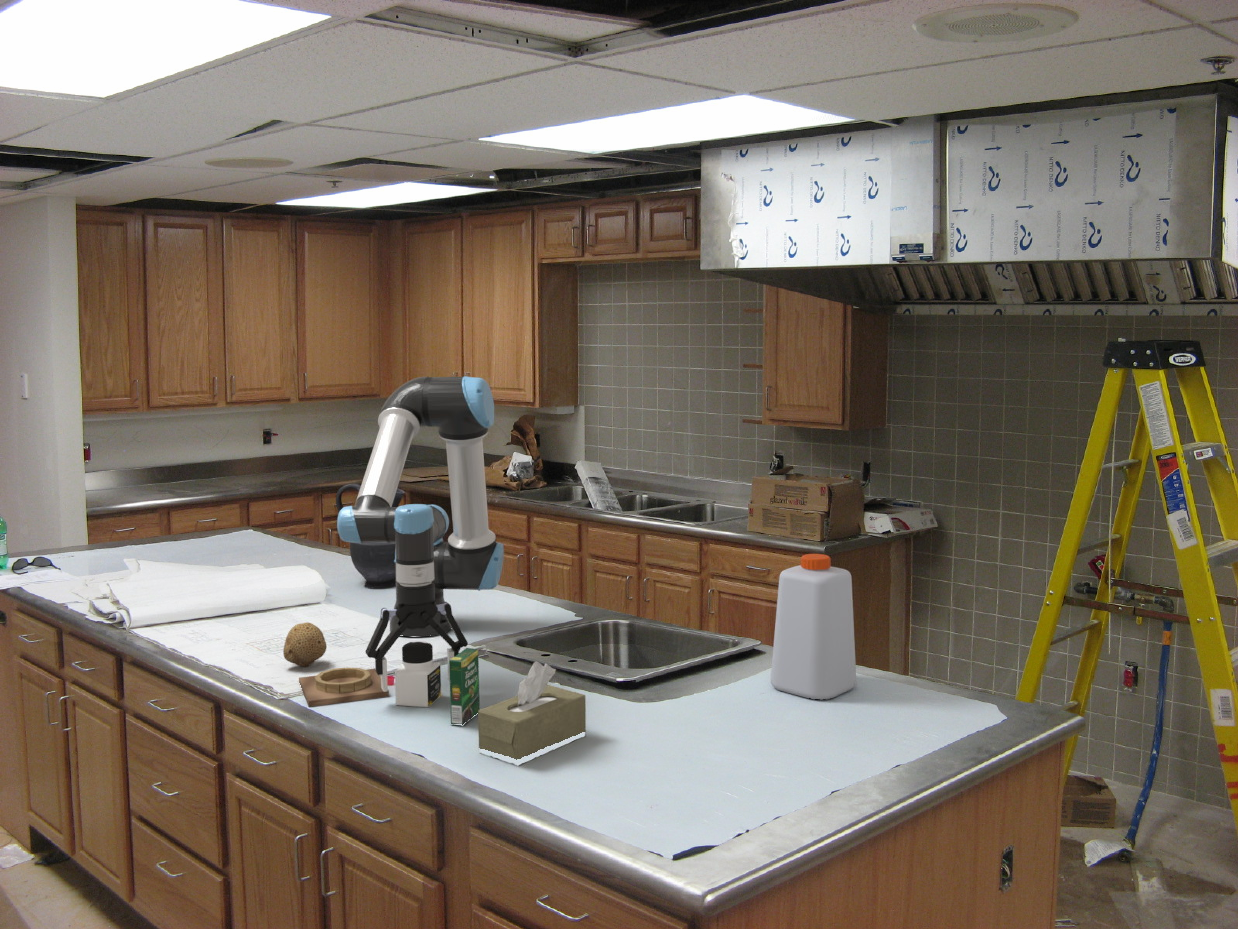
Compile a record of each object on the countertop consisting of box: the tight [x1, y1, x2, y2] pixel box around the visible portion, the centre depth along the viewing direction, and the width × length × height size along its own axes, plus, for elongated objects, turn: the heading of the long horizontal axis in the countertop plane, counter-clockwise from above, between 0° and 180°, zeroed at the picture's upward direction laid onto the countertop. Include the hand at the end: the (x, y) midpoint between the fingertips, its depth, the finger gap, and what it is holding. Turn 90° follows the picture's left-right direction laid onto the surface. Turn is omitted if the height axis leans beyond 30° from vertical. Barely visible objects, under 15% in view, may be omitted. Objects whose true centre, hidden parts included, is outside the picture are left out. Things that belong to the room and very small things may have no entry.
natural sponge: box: [283, 622, 327, 668], centre depth 246 cm, size 9×9×10 cm
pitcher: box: [335, 483, 406, 590], centre depth 321 cm, size 17×21×30 cm
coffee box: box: [449, 647, 481, 725], centre depth 213 cm, size 8×3×13 cm, turn 163°
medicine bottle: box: [394, 640, 442, 708], centre depth 223 cm, size 7×7×12 cm
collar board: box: [298, 666, 390, 708], centre depth 231 cm, size 16×16×3 cm
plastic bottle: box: [770, 553, 857, 701], centre depth 230 cm, size 15×15×28 cm
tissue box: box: [477, 660, 587, 760], centre depth 200 cm, size 19×10×16 cm, turn 141°
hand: (418, 685), depth 224 cm, fingers open, 13 cm apart
